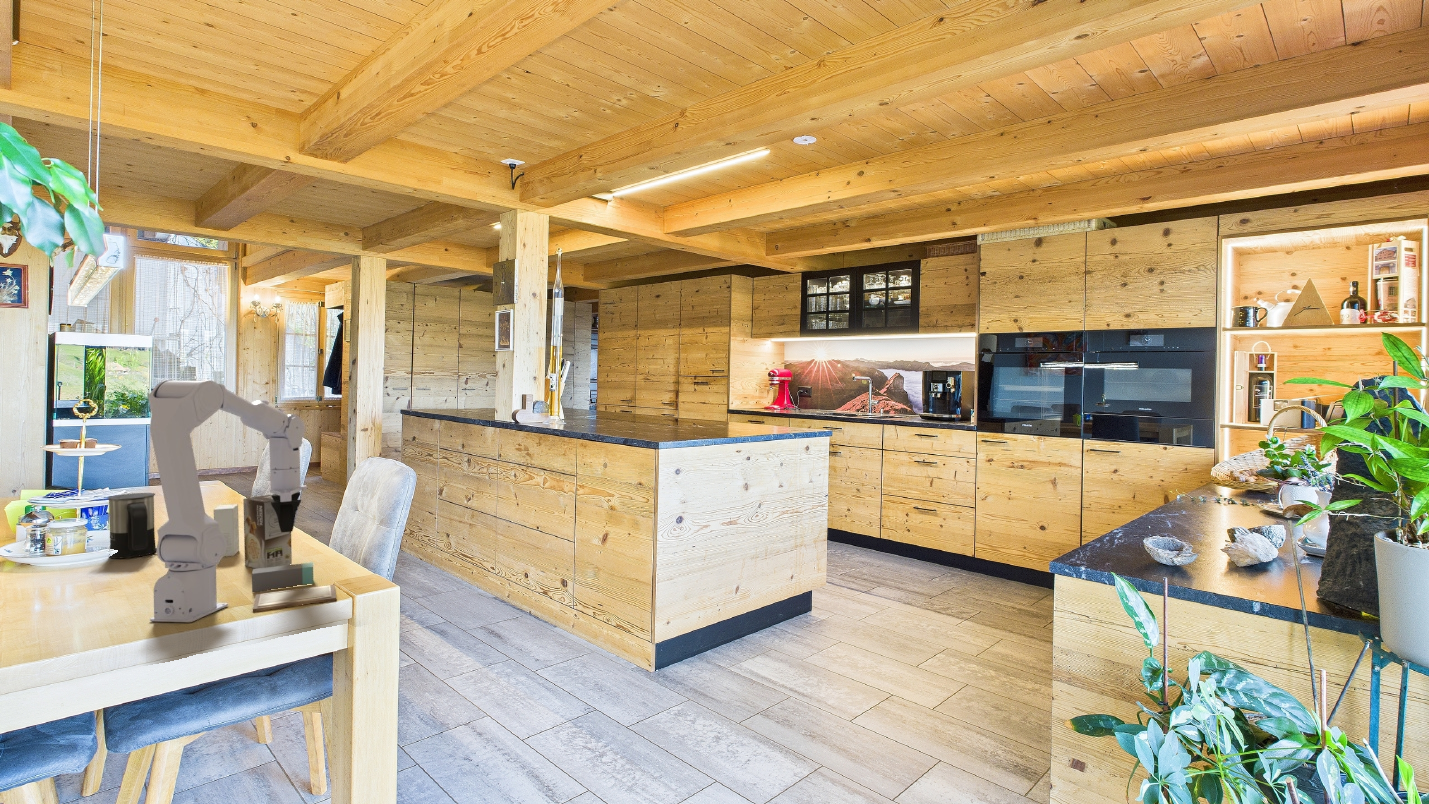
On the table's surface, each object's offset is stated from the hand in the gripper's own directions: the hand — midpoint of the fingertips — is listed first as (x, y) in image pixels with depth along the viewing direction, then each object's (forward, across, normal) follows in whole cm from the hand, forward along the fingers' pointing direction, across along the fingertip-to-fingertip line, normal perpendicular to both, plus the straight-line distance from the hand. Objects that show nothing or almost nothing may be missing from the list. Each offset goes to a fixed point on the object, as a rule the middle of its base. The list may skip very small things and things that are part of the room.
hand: (286, 528), depth 155 cm
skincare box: (+11, +29, +13) cm, 34 cm away
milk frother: (+11, +40, +29) cm, 50 cm away
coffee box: (+11, +12, +4) cm, 17 cm away
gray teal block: (+11, -8, +1) cm, 14 cm away
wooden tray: (+10, -20, -1) cm, 22 cm away
